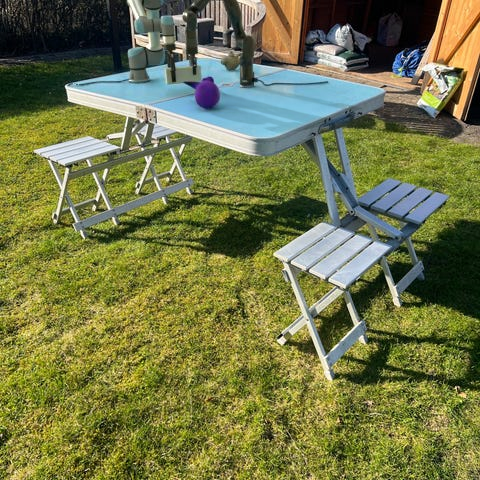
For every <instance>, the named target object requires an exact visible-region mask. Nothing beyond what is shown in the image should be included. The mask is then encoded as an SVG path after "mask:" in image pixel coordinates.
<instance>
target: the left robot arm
mask: <svg viewBox="0 0 480 480" xmlns="http://www.w3.org/2000/svg"><path fill="white" fill-rule="evenodd" d="M126 3H127V6H128V7H129V8H130V9H131V12H132V14H133V15H132V16H133V17H134V21H133V25H134V30H135V32H136V33H137V34H144V33H145V34H146V33H147V44H146V48H144V47H143V46H137V47H132V48H130V49H128V50H127V57H128V64H129V65H128V66H129V76H128V78H126V79H122V80H100V81H99V80H98V81H97V80H96V81H91V82H84V83H75V84H76V85H75V86H79V87H80V86H85V85H92V84H98V83H99V84H100V83H124V82H127V81H128V82H129V83H133V84H141V83H148V82H150V76H149V74H148V71H147V66H159V65H160V66H161V65H164V63H165V61H166V64H167V65H166V68H171V71H170V72H171V78H172V82H176V73H175V71H176V68H175V67H176V61H175V53H174V52H173V51H176V49H177V46H176V34H175V22H174V17H173V15H162V16H160V10H161V8H162V6H163V5H164V0H126ZM161 35H162V43H163V45H162V44H161ZM73 83H74V82H70V83H68V84H67V87H70V86H71V85H73ZM78 84H79V85H78Z"/></svg>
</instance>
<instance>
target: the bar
mask: <svg viewBox="0 0 480 480" xmlns="http://www.w3.org/2000/svg"><path fill="white" fill-rule="evenodd" d="M175 68H176V71H175V73H176V82H172V78H171V72H170V71H171V68H168V67H164V76H165V84H166V85H180V84H181V85H182V84H184V83H183V82H187V81H189V82H202V79H203V78H202V67H201V65H199V64H197V68H196V75H193V69H192V66H190V65H186V66H175Z"/></svg>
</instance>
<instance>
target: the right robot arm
mask: <svg viewBox="0 0 480 480" xmlns="http://www.w3.org/2000/svg"><path fill="white" fill-rule="evenodd" d="M211 1H212V0H194V1H193V3H192V4H191V5H189V6H188V7H187V8H186V9H185V10H184V12H183V13H182V17H181V18H182V21H183V22H184V23H185V24H186V28H185V30H184V36H185V54H186V55H188V64H189V65H188V66H192V69H193V75H196V68H197V65H198V59H197V57H196V55H198V54H199V48H198V47H199V46H198V37H197V27H198V17H197V16H198V14H200V13H203V11H204V10H205V8H206V7H207V6H208V5H209V3H210V2H211ZM221 1H222V4H223V6H224V9H225V12H226V15H227V17H228V20H229V22H230V25H231V28H232V30H233V33H234V37H235V42H236V44H237V46H238V48H240V49H241V50H242V51H241V53H242V55H241V56H239V60H240V64H239V87H240V88H246V89H247V88H253V87H255V83H259V82H260V83H261V84H262V85H263V86H265V87H266V86H267V87H268V86H273V85H286V86H287V85H289V86H290V85H293V86H294V85H295V86H302V85H303V86H307V85H318V84H319V85H320V84H327V83H329V81H328V80H326V81H318V82H304V83H303V82H302V83H301V82H300V83H299V82H298V83H295V82H293V83H292V82H271V83H269V84H266V83H265V82H264V81H263V80H261V79H259V78H258V77H255V71H254V56H255V39H254V37H253V36H252V35H249V34H247V33H246V31H245V29H244V25H243V11H242V8H241V5H240V3H239V1H238V0H221Z"/></svg>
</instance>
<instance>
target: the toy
mask: <svg viewBox="0 0 480 480" xmlns="http://www.w3.org/2000/svg"><path fill="white" fill-rule="evenodd" d="M201 79H202V82H189V81H187V82H183V83H182V84H184V85H187V86H189V87H191V88H192V89H194V100H195V102H196V105H198V107H200V108H202V109H206V110H211V109H214V108H215V107H216V105H217V104H218V103H219V102H220V100H221V92H220V89H219V87H218V85H217V84H216V83H215V80H214V77H212V76H209V75H208V76H206V77H203V78H201Z"/></svg>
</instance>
